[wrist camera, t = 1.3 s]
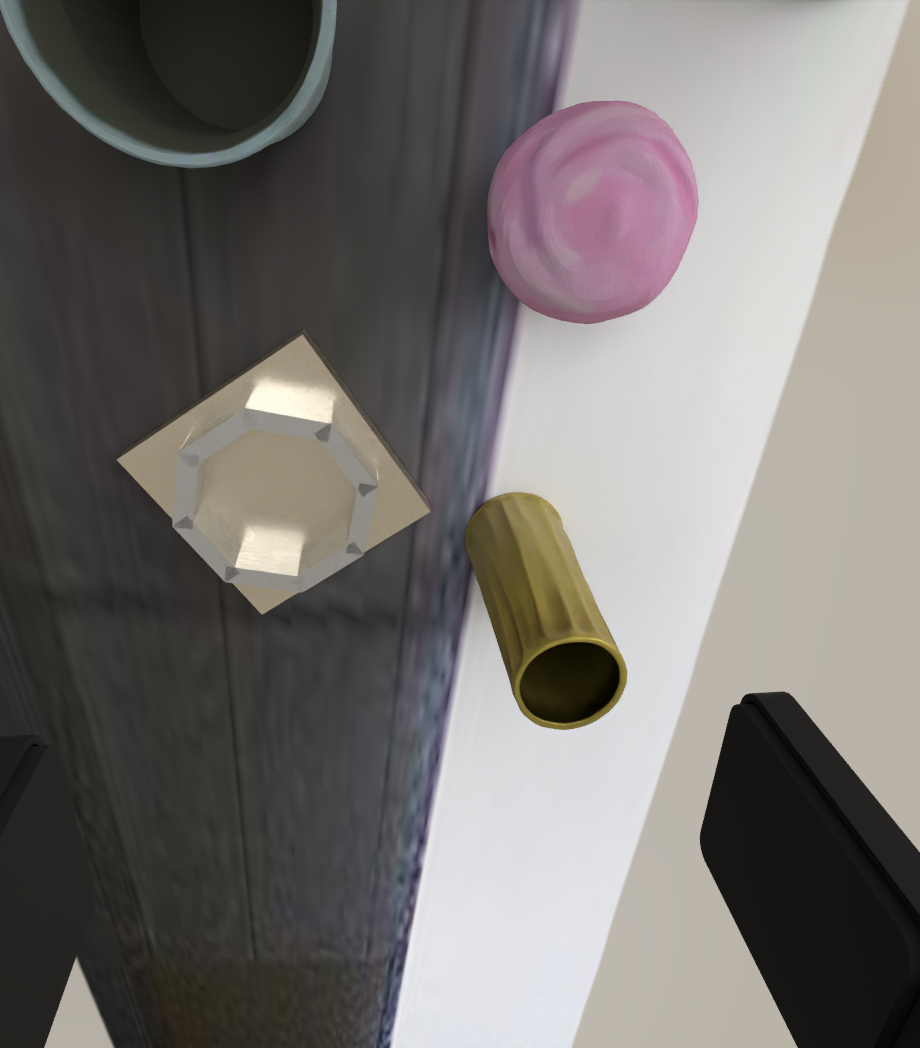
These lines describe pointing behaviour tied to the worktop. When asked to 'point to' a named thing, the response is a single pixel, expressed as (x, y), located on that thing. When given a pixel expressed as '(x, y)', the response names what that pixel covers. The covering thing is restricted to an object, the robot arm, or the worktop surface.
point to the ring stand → (277, 475)
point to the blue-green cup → (180, 70)
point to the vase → (543, 613)
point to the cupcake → (591, 211)
